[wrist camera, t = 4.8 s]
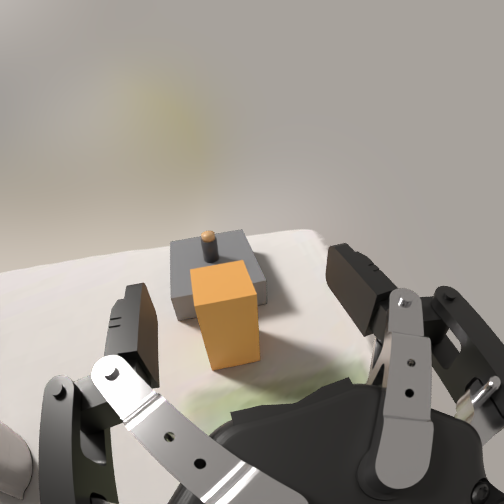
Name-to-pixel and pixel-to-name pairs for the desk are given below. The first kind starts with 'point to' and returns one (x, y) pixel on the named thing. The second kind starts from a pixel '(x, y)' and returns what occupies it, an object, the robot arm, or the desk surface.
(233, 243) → the flat gray square block
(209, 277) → the tall orange cuboid
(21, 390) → the desk surface
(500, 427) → the robot arm
